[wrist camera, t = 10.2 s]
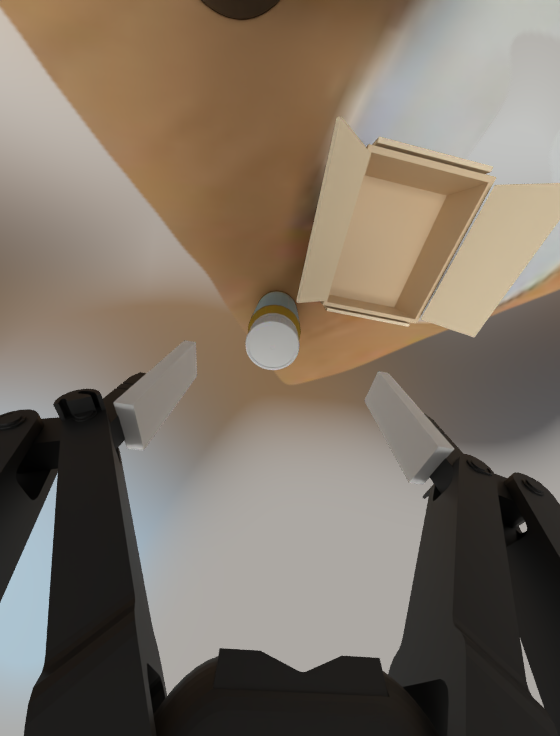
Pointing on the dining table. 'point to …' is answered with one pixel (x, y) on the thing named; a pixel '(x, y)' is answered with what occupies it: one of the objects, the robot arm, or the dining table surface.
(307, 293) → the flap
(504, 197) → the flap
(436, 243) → the carton
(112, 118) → the dining table surface
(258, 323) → the bottle
